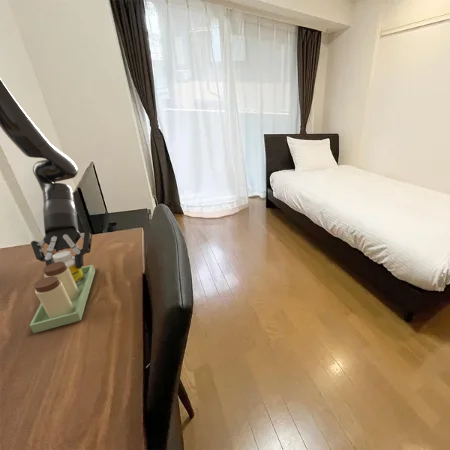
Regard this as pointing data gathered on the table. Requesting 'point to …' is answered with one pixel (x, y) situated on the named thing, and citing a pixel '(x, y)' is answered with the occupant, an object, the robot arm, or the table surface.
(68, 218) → the robot arm
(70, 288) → the cream bottle middle
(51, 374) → the table surface
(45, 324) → the tray
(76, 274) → the supplement bottle
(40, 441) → the table surface
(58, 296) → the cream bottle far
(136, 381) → the table surface
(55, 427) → the table surface
